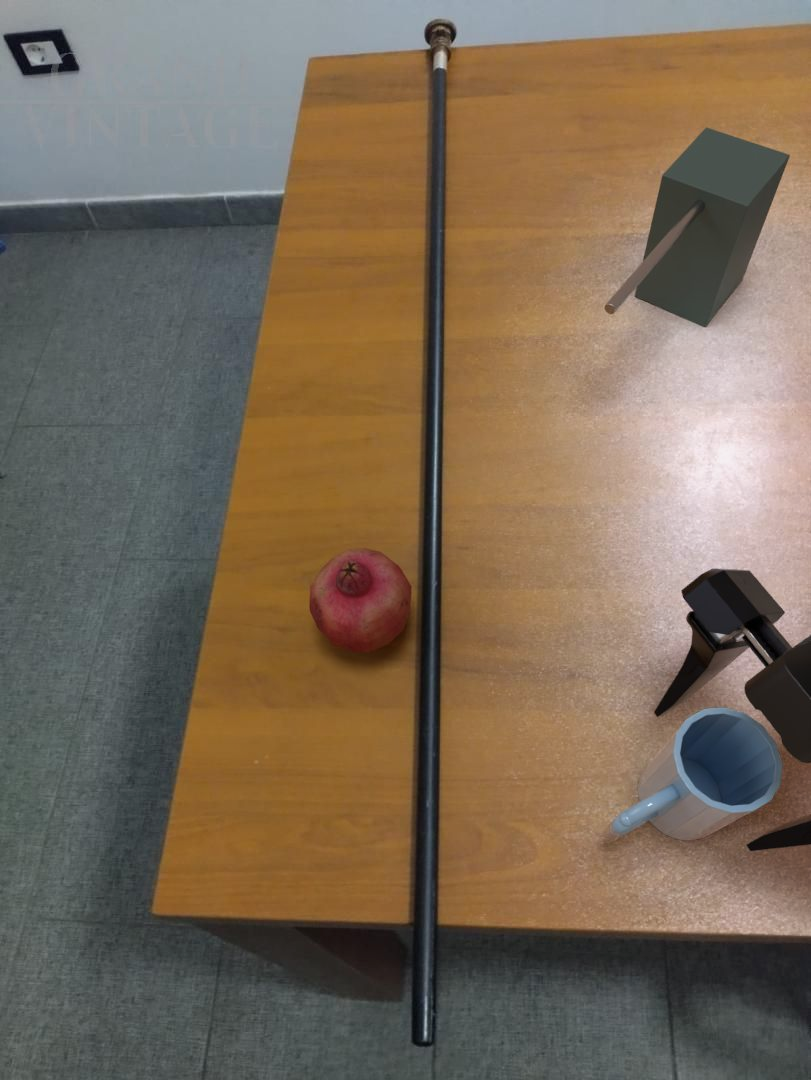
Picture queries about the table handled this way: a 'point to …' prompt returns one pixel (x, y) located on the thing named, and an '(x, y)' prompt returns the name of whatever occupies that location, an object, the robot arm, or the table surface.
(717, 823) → the blue mug
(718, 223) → the box
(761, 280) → the table surface
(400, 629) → the fruit
